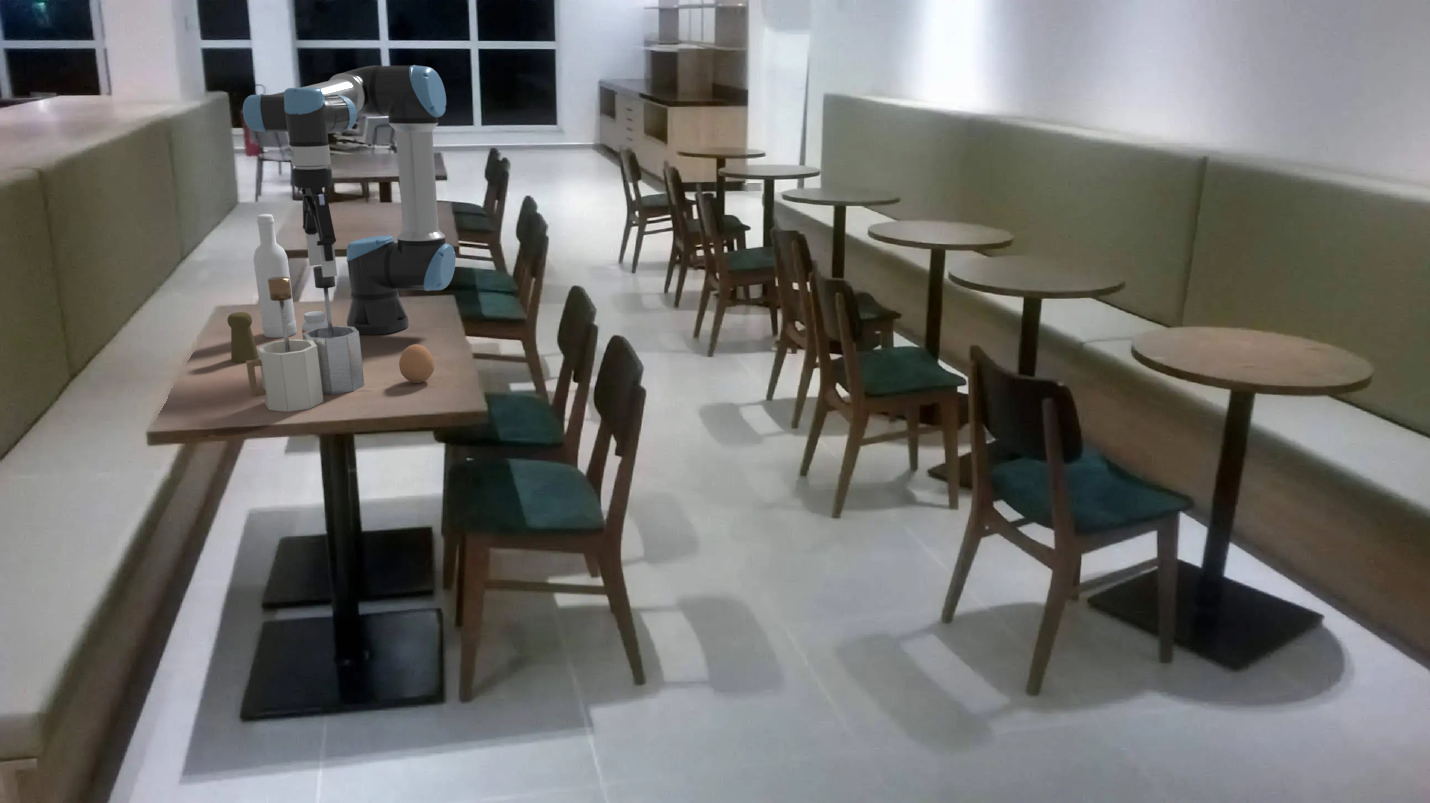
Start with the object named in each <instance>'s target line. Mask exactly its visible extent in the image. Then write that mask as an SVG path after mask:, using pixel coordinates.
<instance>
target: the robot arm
mask: <svg viewBox="0 0 1430 803" xmlns="http://www.w3.org/2000/svg"><path fill="white" fill-rule="evenodd" d="M445 90H446V89H445V87H444V83H443V81H442V79H441V77H440V75H439V73H438V72H437V71H436V70H434V68H432V67H429V66H423V65H416V64H413V65H369V66H364V67H363V66H362V67H359V68H356V69H352V70H348V71H345V72H341V73H337V74H334V75H333V76H332V77H330V79H329V80H328V81H323V82H320V83H314V84H310V85H307V86H302V87H301V86H300V87H288V88H285V90H284V91H282V92H277V93H274V94H263V93H259V94H250V95H249V96H247V97H246V98H245V99H244V102H243V106H242V114H243V115H242V116H243V119H244V122H245V124H246V126H247V127H248V128H249V129H250V130H252V131H254V132H263V133H268V132H269V133H280V132H281V133H287V134H288V145H289V149H290V150H287V152H286V153H287V156H289V157H290V160H291V165H292V166H293V167H295V168H293V169H292V170H291V172H292V181H293V182H292V183H293V185H294V187H295V188H299V189H301V195H302V196H301V197H302V229H303V230H304V233H305V238H306V247H307V257H308V264H309V266H311V267H312V266H313V267H315V266H322V275H323V277H332V276H334V277H337V276H338V271H337V269H338V268H337V260H336V251H335V243H336V242H337V238H336V235H335V230H334V226H333V219H332V216H331V215H332V214H331V210H330V209H331V208H330V206H329V195H328V194H327V193H324V191H323V189H324V188H329V187H331V186H333V184H334V183H333V182H334V181H333V173H332V171H333V170H332V168H331V167H330V166H329V165H331V164H332V162H331V161H332V160H331V148H330V144H329V136H328V134H334V133H339V134H340V133H343V132H345V131H348V130H351V129H352V128H353V127H354V125H356V121H357V119H358V115H369V116H371V115H372V116H384V117H388V125H390V127H391V128H393V129H394V131H395V137H396V149H397V164H398V179H399V190H400V191H399V192H400V193H399V194H400V205H401V206H400V207H401V218H402V220H401V221H402V231H401V232H400V233H399V234H398V235H397V237H396V238H397V242H395V239H394V237H393V236H392V235H387V234H386V235H375V236H369V237H365V238H361V239H356V240H354V241H351V242H349V244H348V245H347V246H346V263H347V269H348V270H347V271H348V272H347V273H348V280H349V287H350V288H349V289H350V295H351V297H350V298H351V300H350V306H349V310H348V315H347V319H346V326H349V327H355V328H356V329H357V330H358V331H359V335H370V336H371V335H385V334H390V333H391V334H392V333H395V332H399V331H400V332H401V331H403V330H404V329H407V328H408V327H409V317H408V315H407V311H406V310H405V307H404V305H403V303H402V301H401V298H400V295H399V290H414V291H416V290H418V291H425V292H431V291H442V290H444V289H445V288H447V287H448V286H449V285H450V283H451V281H452V280H453V277H454V273H455V269H456V259H457V258H456V257H457V256H456V252H455V248H454V247H453V246H452V245H451V244H449V243H447V242H446V235H445V234H444V233H443V232H442V231H441V230H440V228H439V215H438V200H437V185H436V184H437V183H436V182H437V181H436V172H435V171H436V170H435V166H436V165H435V151H434V139H433V138H434V136H433V132H434V129H435V128H436V127H437V126H438V125H439V118H440V117H442V116H443V115H444V114H445V112H446V106H447V96H446V91H445Z"/></svg>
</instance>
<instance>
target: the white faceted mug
mask: <svg viewBox="0 0 1430 803" xmlns="http://www.w3.org/2000/svg"><path fill="white" fill-rule="evenodd" d="M289 345H290V352H287V353H286V351H285V343H284V339H283V340H276V341H270V342H268V343H265V344H263V345H260V346H259V347H257V352H258V355H259V359H255V360H248V361H246V362H245V364H246V370H247V378H248V383H249V392H250V396H251V397H252V398H254V397H260V396H264V405H265V406H266V407H267V409H268V410H269V411H275V412H276V411H277V412H285V413H288V412H289V413H290V412H296V411H302V410H308V409H312V408H314V407H316V406H317V405H320V404H321V403H323V402H324V394H323V393H322V384H321V376H320V368H319V359H318V351H317V345H316V344H315V343H314V342H313V341H312V340H303V339H298V338H297V339H295V338H292V339H289ZM255 367H260V376H261V381H262V382H261V383H262V388H261V387H260V388H258V383H257V377H256V370H255V369H256V368H255Z"/></svg>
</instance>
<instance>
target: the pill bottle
mask: <svg viewBox="0 0 1430 803" xmlns="http://www.w3.org/2000/svg"><path fill="white" fill-rule="evenodd" d="M303 318H304V321H305V322H303V324H302V325H301V329H302V330H301V331H302V334H303V333H304V332H307V331H309V330H312V329H314V328H320V327H328V323H327V315H326V311H322V310H315V311H308V312H305V313H304V314H303Z"/></svg>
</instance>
